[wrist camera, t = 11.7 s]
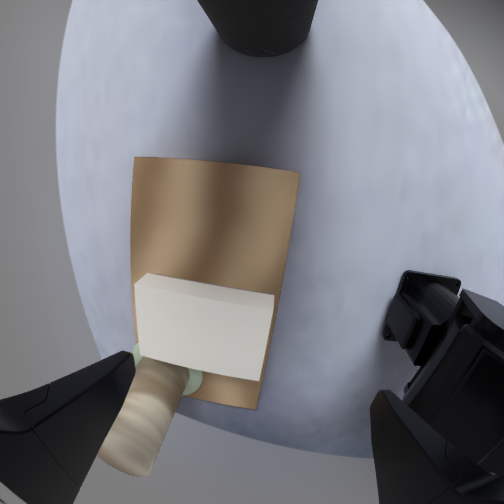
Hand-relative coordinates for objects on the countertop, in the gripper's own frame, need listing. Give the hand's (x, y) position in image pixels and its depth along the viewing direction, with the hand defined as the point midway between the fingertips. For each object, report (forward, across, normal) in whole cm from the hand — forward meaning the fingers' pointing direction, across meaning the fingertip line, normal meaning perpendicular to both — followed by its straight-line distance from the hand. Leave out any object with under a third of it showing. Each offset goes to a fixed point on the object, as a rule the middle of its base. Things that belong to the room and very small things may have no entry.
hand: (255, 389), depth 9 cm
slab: (+12, +4, +4) cm, 13 cm away
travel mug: (+13, +3, -19) cm, 23 cm away
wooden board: (+13, +5, +4) cm, 14 cm away
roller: (+12, +8, +12) cm, 18 cm away
